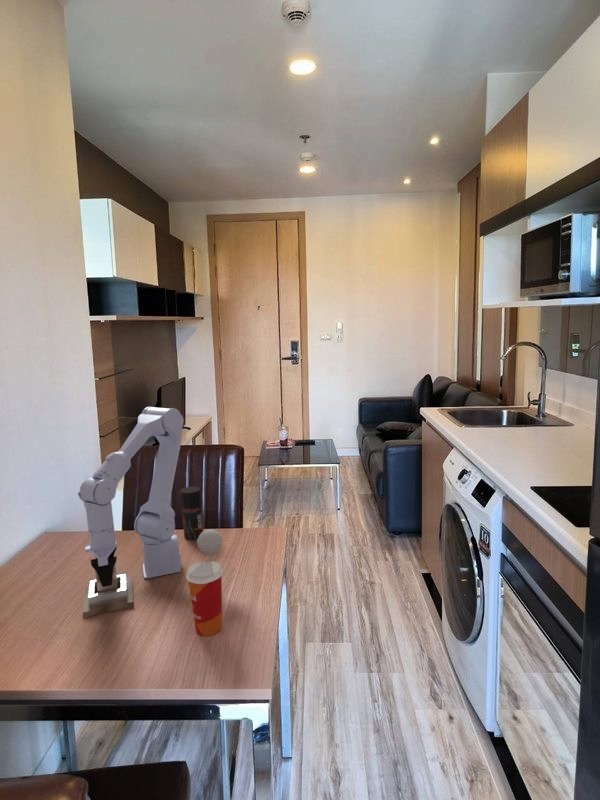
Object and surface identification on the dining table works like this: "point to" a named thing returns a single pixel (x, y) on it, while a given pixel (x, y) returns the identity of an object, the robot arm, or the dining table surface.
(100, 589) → the sleeve block
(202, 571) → the paper cup
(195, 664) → the dining table surface
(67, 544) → the dining table surface
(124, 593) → the collar board
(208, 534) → the lollipop
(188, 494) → the deodorant
